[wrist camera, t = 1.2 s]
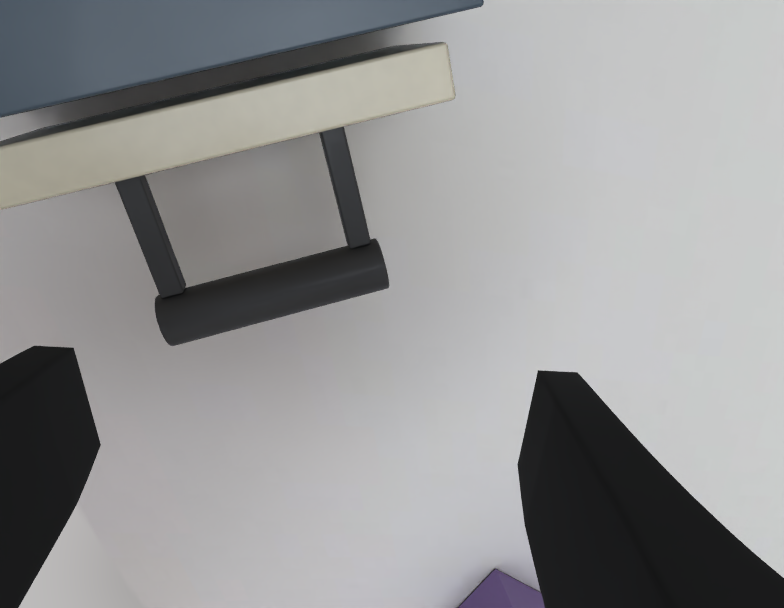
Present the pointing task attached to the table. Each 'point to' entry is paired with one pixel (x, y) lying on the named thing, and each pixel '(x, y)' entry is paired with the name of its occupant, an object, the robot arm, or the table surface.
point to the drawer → (227, 136)
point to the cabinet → (169, 39)
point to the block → (503, 594)
